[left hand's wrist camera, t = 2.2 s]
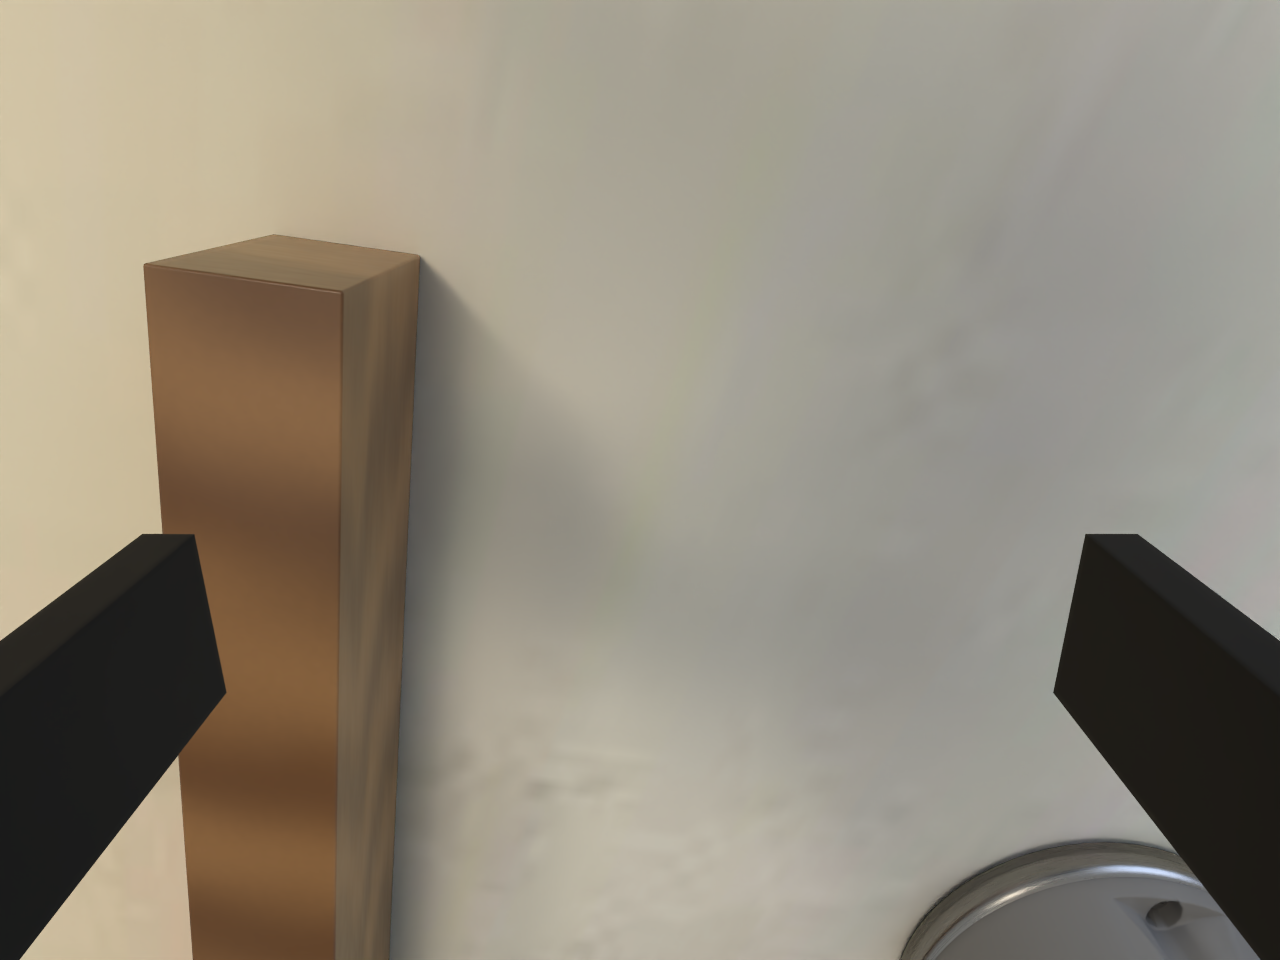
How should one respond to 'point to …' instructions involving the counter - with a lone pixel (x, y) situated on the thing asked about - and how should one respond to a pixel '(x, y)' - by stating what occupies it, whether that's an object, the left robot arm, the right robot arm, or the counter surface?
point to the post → (291, 579)
